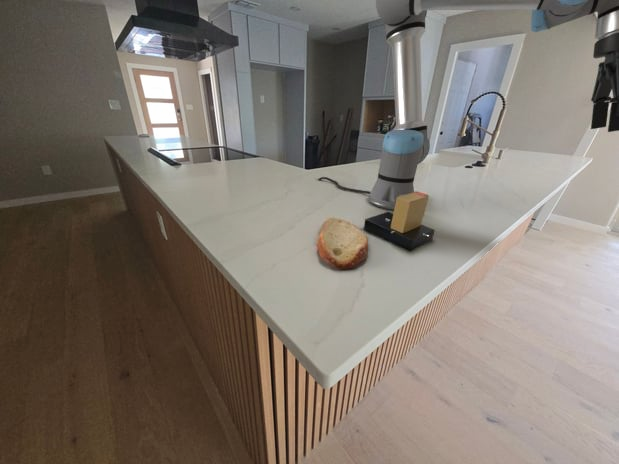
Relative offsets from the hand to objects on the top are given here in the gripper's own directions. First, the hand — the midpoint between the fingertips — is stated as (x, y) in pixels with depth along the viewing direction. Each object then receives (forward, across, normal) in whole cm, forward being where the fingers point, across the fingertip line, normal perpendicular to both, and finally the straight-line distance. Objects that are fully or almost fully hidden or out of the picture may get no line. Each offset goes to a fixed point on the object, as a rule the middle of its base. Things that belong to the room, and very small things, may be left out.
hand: (606, 129), depth 65 cm
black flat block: (+14, -38, +44) cm, 60 cm away
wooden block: (+12, -39, +42) cm, 58 cm away
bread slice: (+12, -52, +54) cm, 76 cm away
